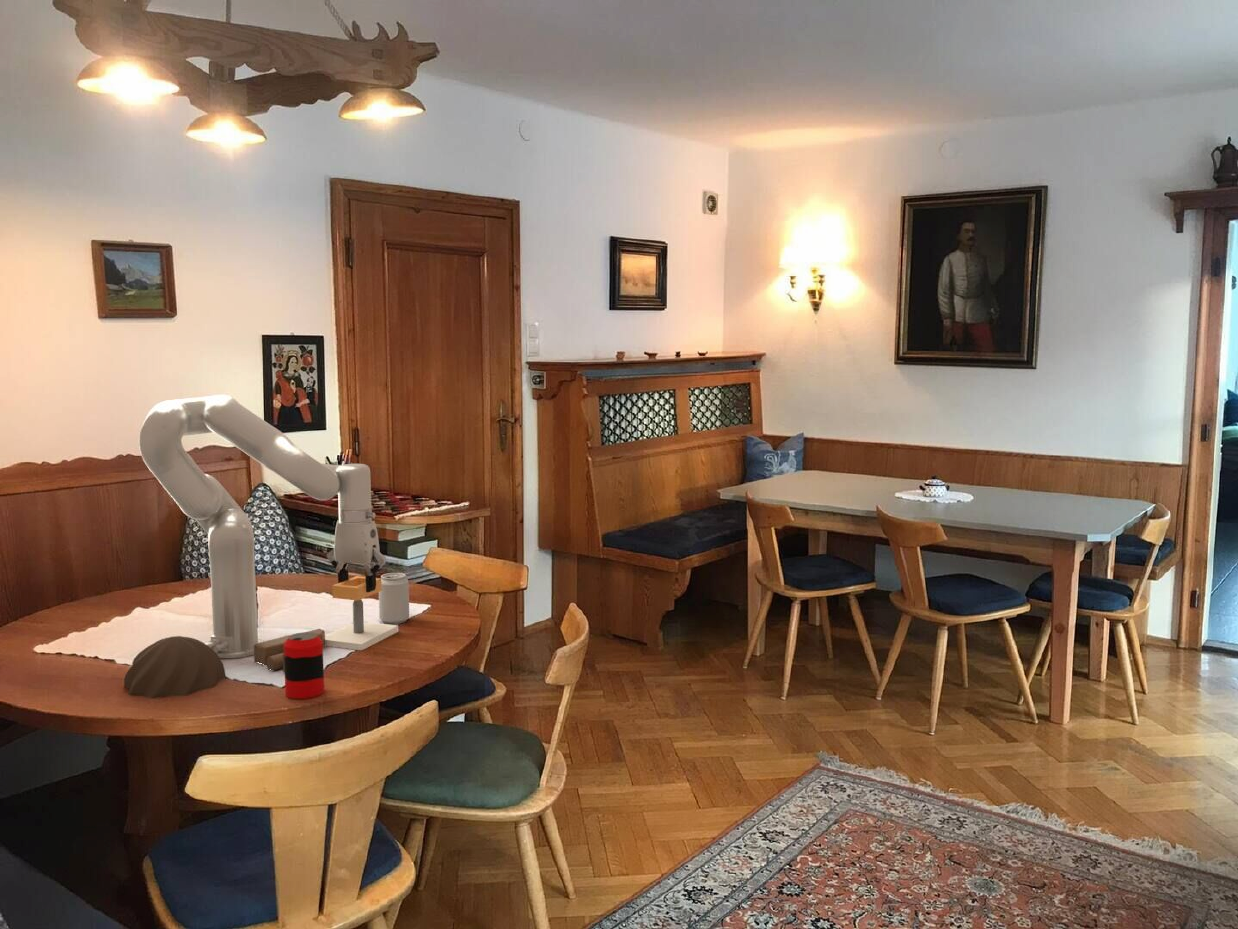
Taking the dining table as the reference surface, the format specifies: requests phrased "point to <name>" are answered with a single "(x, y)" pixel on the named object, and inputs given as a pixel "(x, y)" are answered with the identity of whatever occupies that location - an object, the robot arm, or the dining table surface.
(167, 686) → the decorative dome
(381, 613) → the can
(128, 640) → the dining table surface
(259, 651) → the wooden block set
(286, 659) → the soda can
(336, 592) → the shallow wooden tray
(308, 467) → the robot arm
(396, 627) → the stand
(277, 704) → the dining table surface
